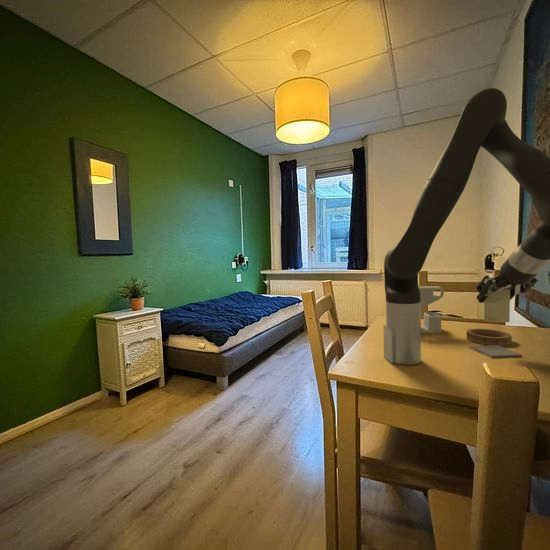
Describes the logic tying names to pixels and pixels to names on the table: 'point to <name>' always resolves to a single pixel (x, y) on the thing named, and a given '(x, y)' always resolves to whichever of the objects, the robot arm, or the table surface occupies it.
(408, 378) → the table surface
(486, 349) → the slate coaster
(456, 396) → the table surface
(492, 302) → the skincare box
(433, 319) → the phone holder
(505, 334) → the walnut ring stand
